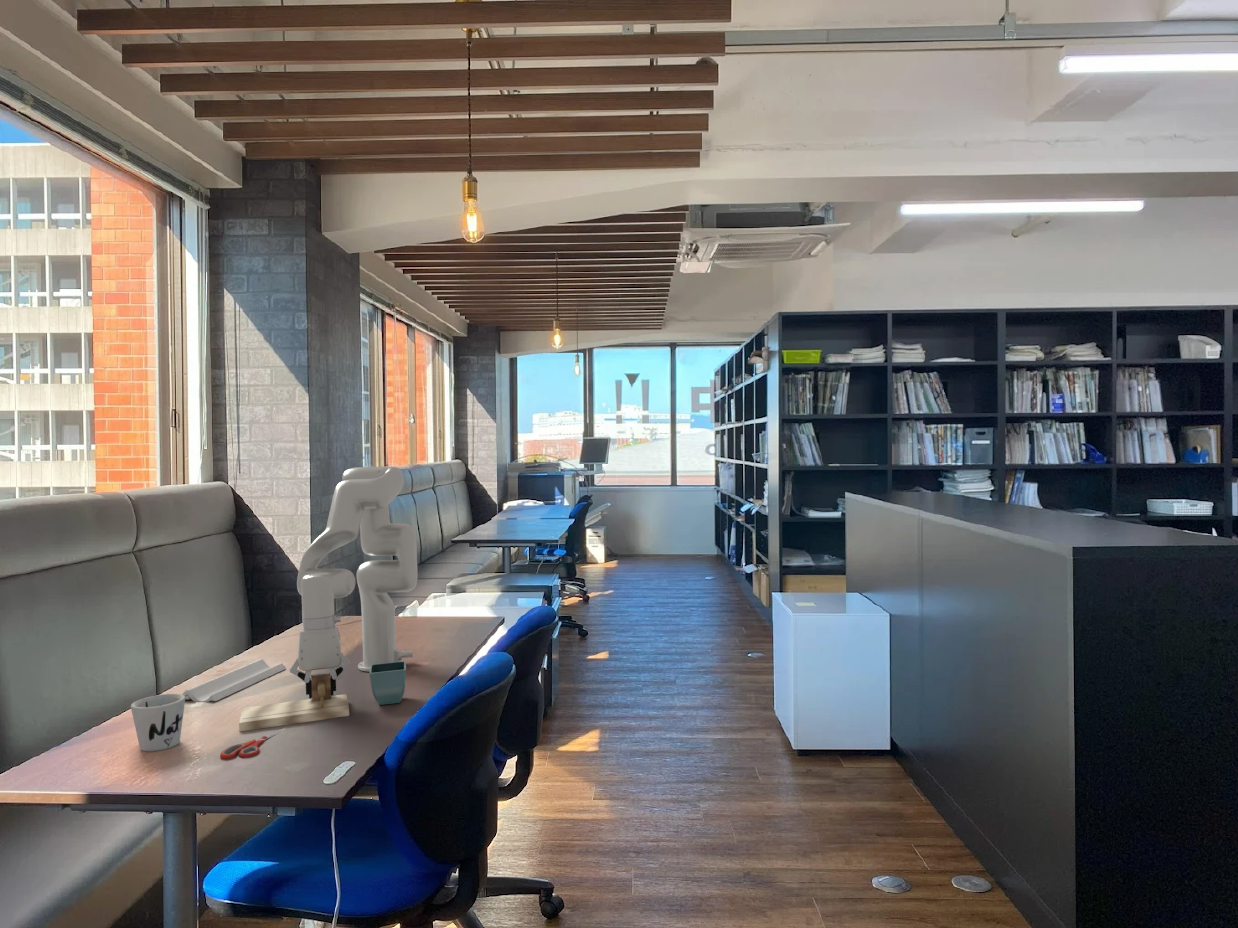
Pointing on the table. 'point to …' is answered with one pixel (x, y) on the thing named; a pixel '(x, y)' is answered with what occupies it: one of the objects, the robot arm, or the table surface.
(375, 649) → the robot arm
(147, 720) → the mug
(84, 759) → the table surface
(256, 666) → the crown molding
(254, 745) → the scissors
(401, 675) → the flower pot
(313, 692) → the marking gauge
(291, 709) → the maple board
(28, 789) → the table surface
